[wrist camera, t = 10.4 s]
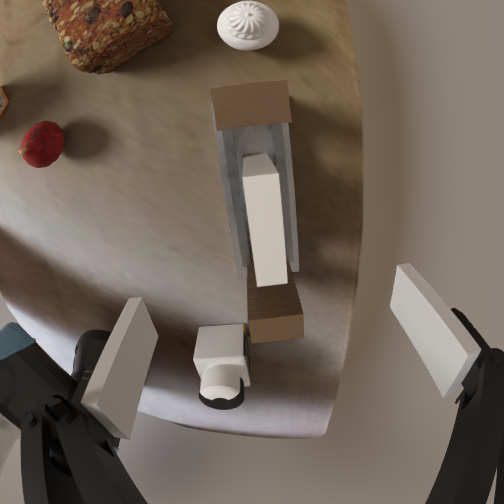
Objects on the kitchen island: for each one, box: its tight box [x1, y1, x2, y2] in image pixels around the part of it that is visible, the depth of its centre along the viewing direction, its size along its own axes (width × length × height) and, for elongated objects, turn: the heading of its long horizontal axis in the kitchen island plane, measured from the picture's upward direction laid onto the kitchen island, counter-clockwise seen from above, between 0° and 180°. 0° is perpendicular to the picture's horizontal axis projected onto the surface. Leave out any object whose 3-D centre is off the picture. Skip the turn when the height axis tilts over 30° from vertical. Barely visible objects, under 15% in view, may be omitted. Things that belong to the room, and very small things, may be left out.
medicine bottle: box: [193, 324, 250, 410], centre depth 37 cm, size 7×7×12 cm
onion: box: [19, 121, 64, 168], centre depth 24 cm, size 6×6×8 cm
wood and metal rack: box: [211, 80, 304, 343], centre depth 26 cm, size 22×8×13 cm, turn 7°
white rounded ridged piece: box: [217, 1, 279, 51], centre depth 20 cm, size 6×6×7 cm
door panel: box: [242, 153, 288, 287], centre depth 26 cm, size 9×2×12 cm, turn 7°
